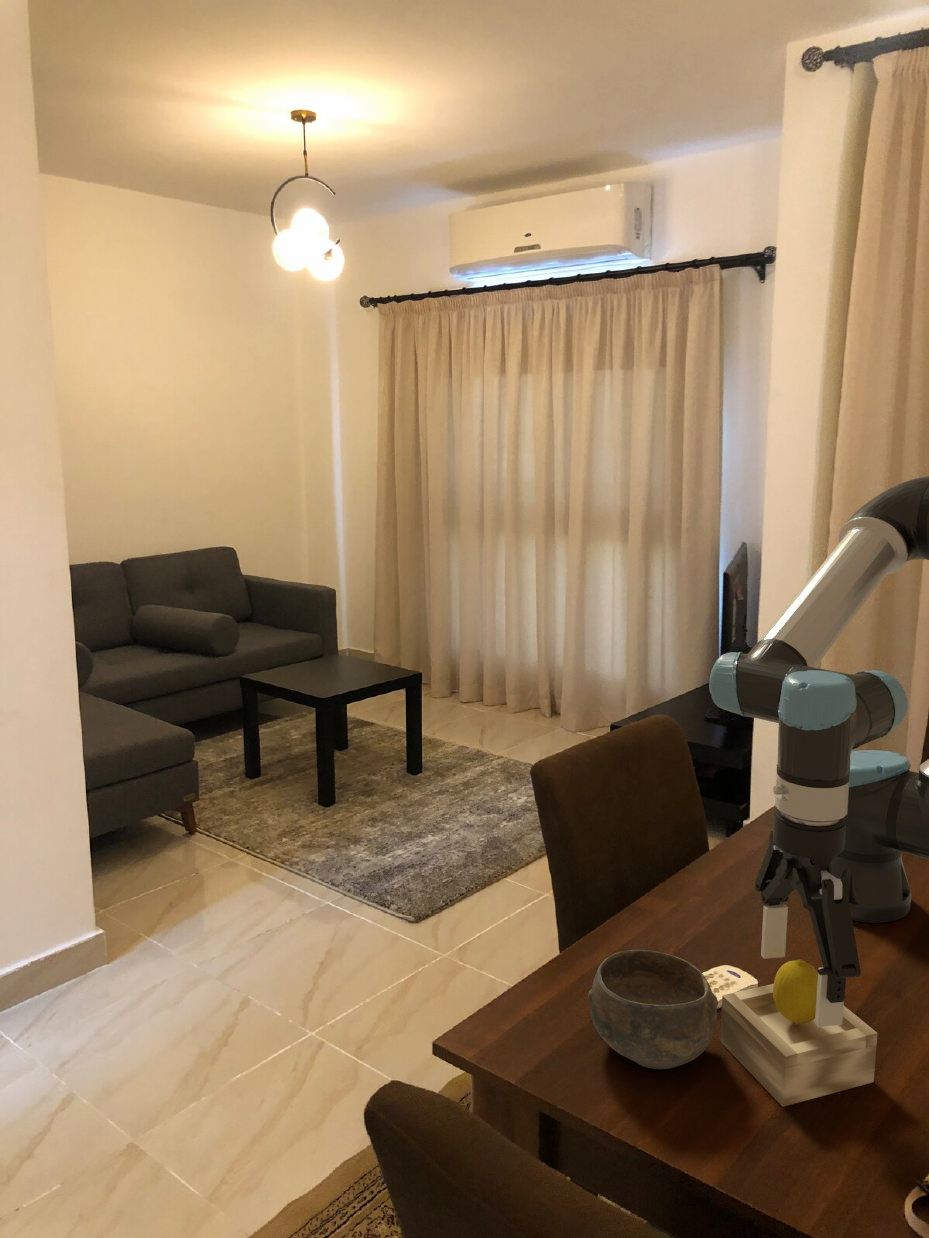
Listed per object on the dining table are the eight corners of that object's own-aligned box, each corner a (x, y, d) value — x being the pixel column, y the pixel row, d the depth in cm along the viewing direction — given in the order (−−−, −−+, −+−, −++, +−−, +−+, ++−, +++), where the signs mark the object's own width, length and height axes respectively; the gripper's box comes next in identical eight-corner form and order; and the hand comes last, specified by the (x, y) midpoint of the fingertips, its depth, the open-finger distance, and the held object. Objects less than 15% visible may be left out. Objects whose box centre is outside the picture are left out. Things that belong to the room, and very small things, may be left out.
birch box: (804, 1023, 120) (807, 975, 119) (873, 1084, 109) (877, 1032, 108) (720, 1044, 117) (722, 995, 115) (782, 1109, 105) (785, 1056, 104)
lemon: (825, 1041, 109) (830, 975, 107) (773, 1035, 110) (777, 970, 108) (817, 1012, 114) (822, 950, 113) (768, 1007, 115) (772, 945, 114)
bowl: (695, 1108, 105) (699, 1025, 103) (564, 1065, 113) (564, 986, 111) (728, 1037, 117) (732, 962, 115) (607, 1002, 125) (609, 930, 123)
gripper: (732, 774, 118) (724, 934, 123) (834, 865, 94) (821, 1060, 98) (790, 771, 119) (781, 929, 124) (907, 860, 95) (890, 1053, 99)
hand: (799, 988), depth 111 cm, fingers open, 13 cm apart
